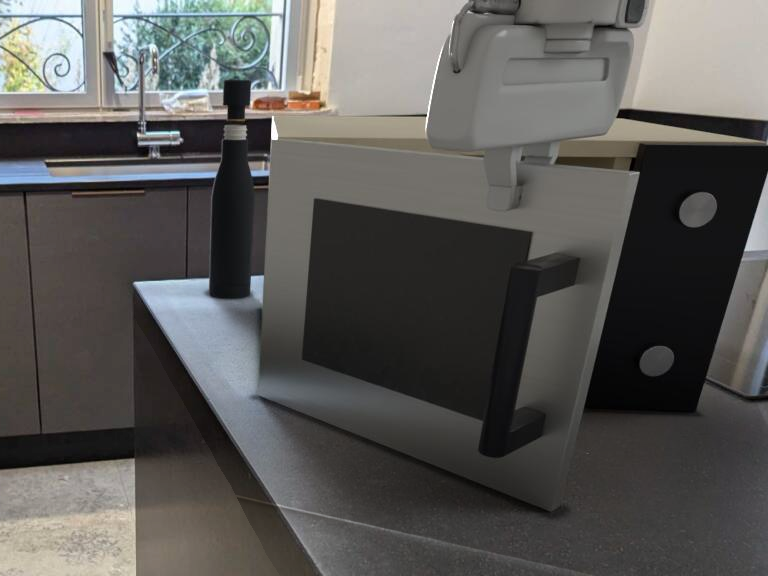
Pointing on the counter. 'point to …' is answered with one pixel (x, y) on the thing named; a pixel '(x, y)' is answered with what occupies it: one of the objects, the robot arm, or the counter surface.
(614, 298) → the microwave
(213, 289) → the black screw-cap bottle
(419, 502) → the counter surface
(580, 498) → the counter surface
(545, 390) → the microwave door
